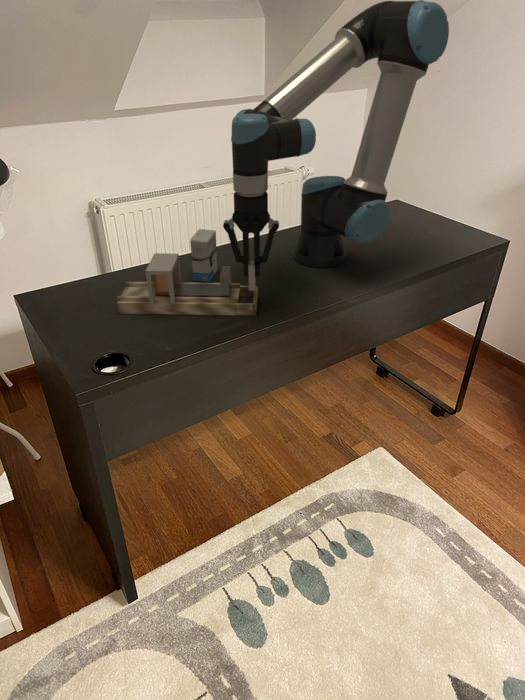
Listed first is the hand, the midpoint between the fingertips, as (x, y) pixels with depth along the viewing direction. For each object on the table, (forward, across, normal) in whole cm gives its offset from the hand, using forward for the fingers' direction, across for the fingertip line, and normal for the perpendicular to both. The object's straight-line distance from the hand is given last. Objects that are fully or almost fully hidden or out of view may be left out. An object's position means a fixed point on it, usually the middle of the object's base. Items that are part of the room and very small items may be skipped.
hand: (252, 287), depth 128 cm
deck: (+5, +16, 0) cm, 16 cm away
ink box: (+5, +14, -17) cm, 23 cm away
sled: (+2, +14, 0) cm, 14 cm away
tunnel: (+2, +21, 0) cm, 21 cm away
